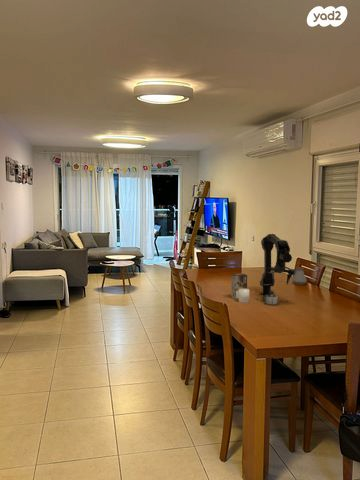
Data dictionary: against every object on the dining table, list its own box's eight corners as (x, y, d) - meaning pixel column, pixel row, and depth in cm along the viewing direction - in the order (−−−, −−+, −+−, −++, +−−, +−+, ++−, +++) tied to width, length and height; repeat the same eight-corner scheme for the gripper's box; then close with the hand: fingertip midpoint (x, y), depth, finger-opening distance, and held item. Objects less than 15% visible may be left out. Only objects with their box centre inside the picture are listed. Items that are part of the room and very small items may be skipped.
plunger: (269, 301, 269) (269, 289, 268) (276, 302, 267) (276, 290, 266) (267, 302, 265) (267, 290, 264) (274, 303, 263) (274, 291, 262)
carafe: (264, 301, 272) (264, 293, 271) (278, 303, 267) (279, 295, 267) (261, 304, 265) (261, 295, 265) (275, 306, 261) (276, 297, 260)
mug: (237, 299, 278) (238, 287, 277) (250, 300, 274) (250, 289, 273) (234, 301, 271) (234, 289, 271) (247, 303, 267) (247, 291, 267)
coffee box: (243, 296, 286) (243, 273, 285) (247, 298, 280) (247, 275, 278) (230, 296, 284) (231, 273, 282) (234, 299, 278) (235, 275, 276)
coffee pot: (304, 282, 336) (305, 264, 334) (308, 285, 324) (309, 266, 323) (278, 282, 336) (278, 263, 335) (281, 285, 325) (281, 266, 323)
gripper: (263, 260, 264) (262, 284, 265) (292, 263, 255) (291, 287, 257) (268, 258, 273) (267, 281, 275) (296, 260, 264) (295, 284, 266)
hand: (280, 283), depth 268 cm, fingers open, 9 cm apart
